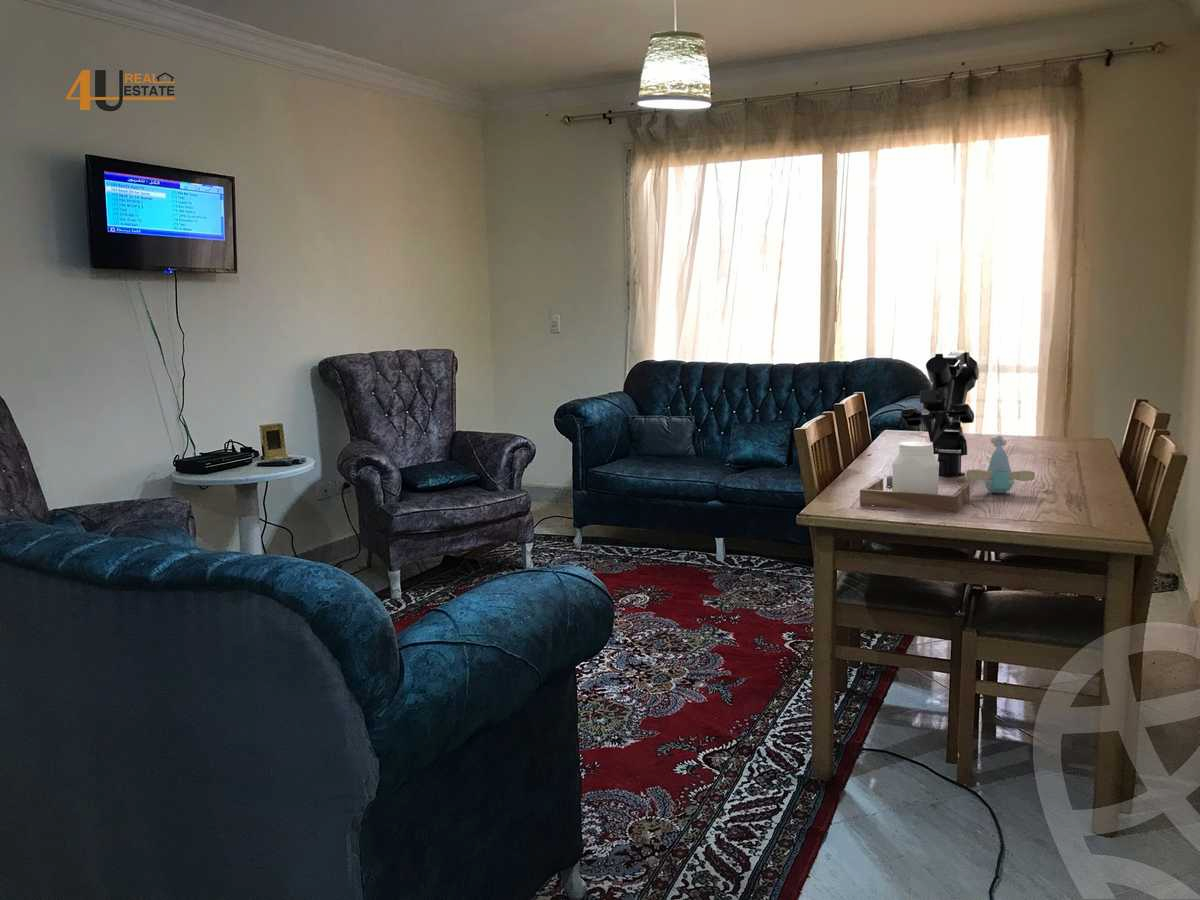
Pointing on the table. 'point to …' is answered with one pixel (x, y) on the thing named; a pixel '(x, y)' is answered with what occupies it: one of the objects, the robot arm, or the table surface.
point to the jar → (915, 469)
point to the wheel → (889, 481)
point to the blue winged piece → (999, 470)
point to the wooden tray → (913, 498)
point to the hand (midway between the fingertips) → (931, 441)
